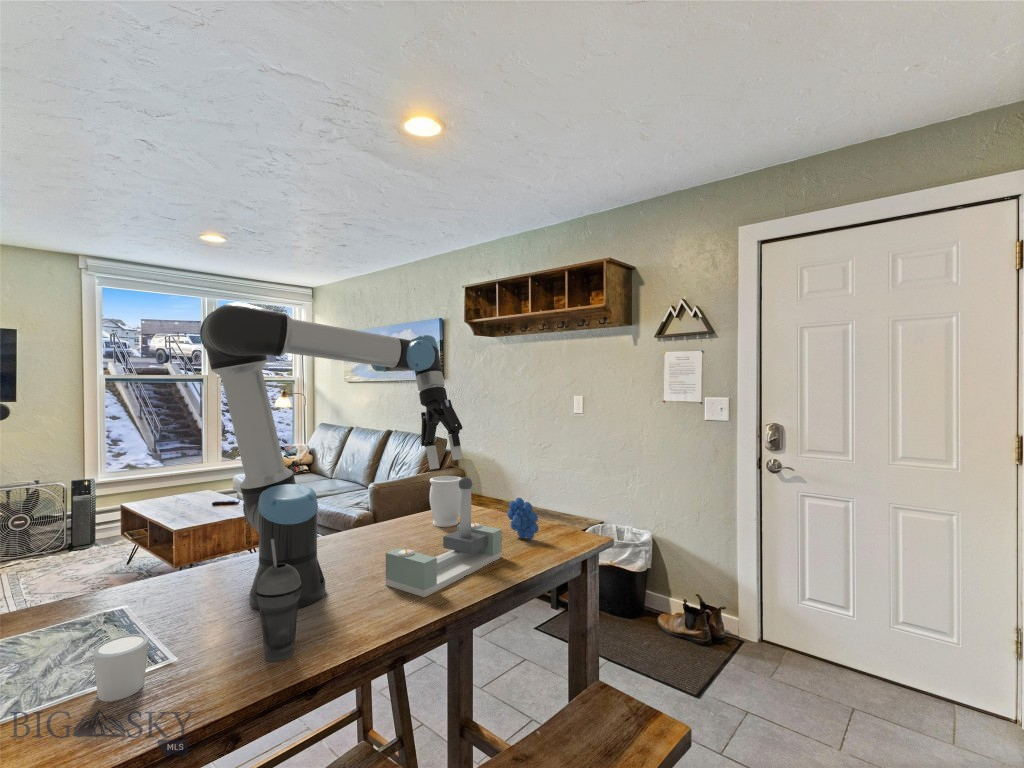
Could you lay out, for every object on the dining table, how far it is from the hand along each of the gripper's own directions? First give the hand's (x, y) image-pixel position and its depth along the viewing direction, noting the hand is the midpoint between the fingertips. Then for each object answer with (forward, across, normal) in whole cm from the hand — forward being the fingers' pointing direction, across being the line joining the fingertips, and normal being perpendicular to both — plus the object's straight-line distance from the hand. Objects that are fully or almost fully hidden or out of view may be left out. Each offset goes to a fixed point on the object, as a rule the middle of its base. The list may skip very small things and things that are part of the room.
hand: (445, 464), depth 139 cm
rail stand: (+26, -2, +6) cm, 27 cm away
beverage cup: (+30, -19, +49) cm, 61 cm away
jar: (+16, +32, -14) cm, 38 cm away
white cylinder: (+29, -16, +71) cm, 78 cm away
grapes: (+25, +6, -24) cm, 35 cm away
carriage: (+22, -1, 0) cm, 22 cm away
